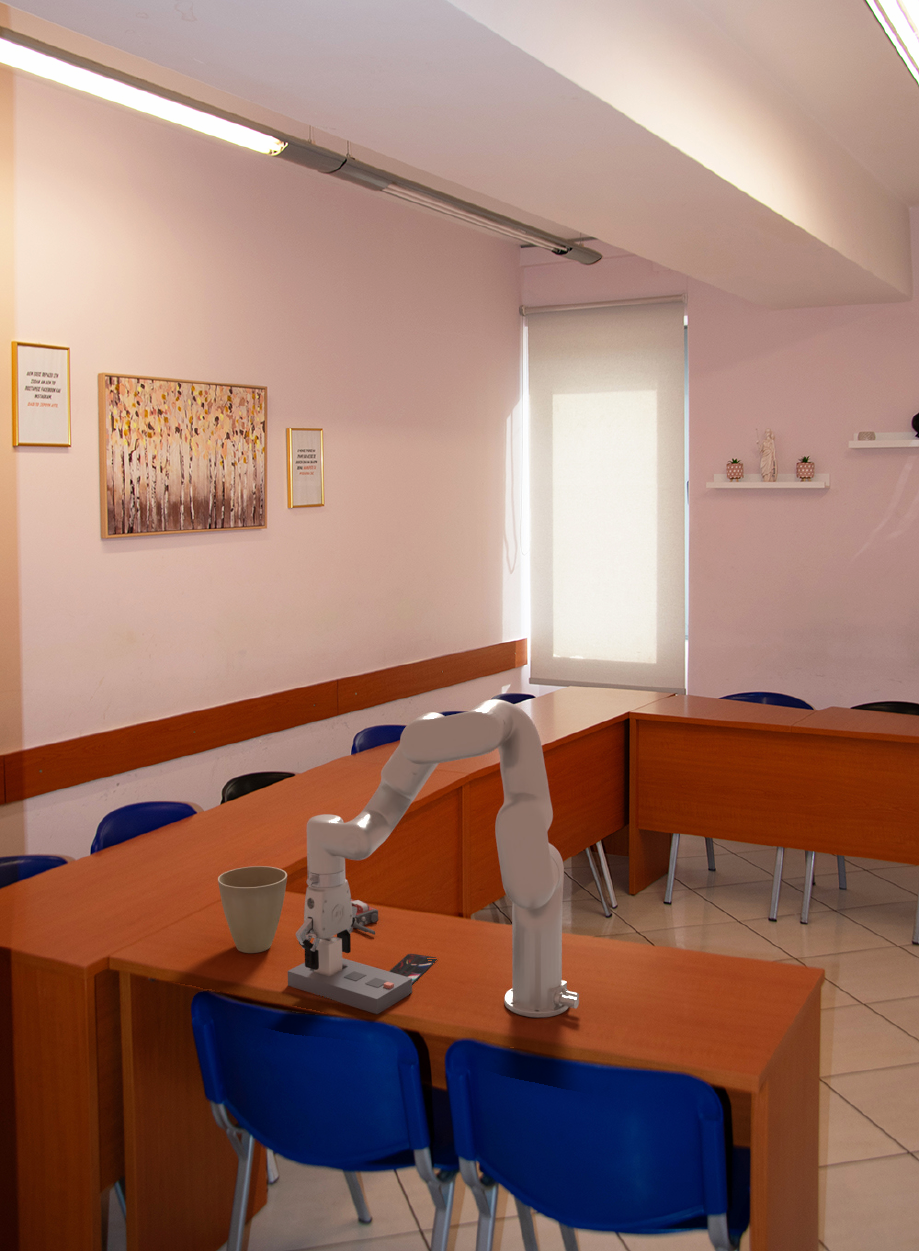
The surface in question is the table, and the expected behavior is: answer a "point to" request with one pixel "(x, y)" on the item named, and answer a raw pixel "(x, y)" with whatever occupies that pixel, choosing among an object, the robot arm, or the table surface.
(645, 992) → the table surface
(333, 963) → the block
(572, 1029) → the table surface
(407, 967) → the smartphone
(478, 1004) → the table surface
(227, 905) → the plant pot
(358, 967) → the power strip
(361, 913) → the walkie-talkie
